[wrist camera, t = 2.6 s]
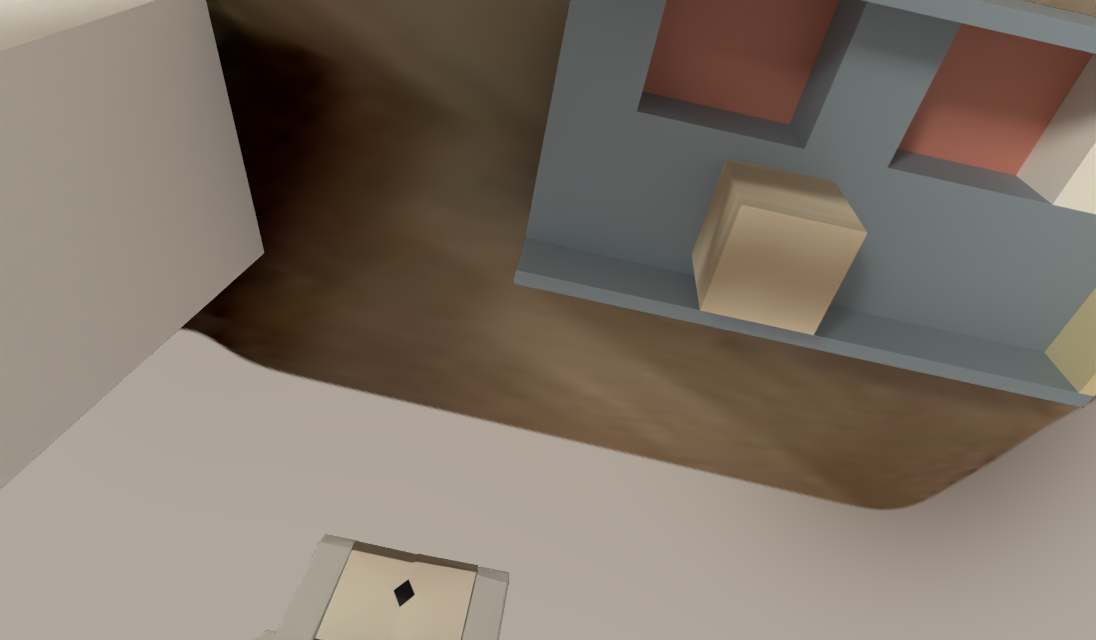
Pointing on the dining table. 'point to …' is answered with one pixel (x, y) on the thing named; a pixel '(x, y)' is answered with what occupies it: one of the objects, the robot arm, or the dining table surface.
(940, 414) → the dining table surface
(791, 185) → the block
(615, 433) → the dining table surface
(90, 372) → the milk
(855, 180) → the box
